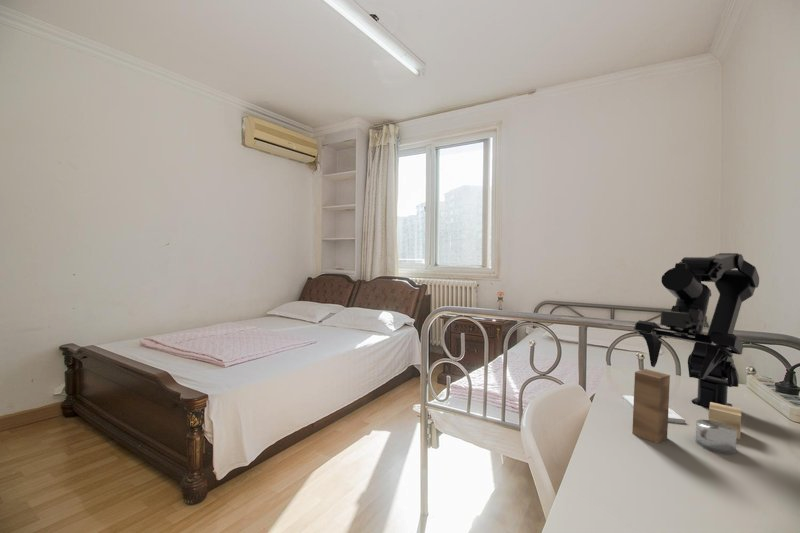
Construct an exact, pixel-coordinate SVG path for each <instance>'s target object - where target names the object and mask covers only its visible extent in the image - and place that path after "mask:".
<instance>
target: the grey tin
mask: <svg viewBox="0 0 800 533" xmlns="http://www.w3.org/2000/svg"><path fill="white" fill-rule="evenodd" d="M694 438H695V443H696V444H697V445H698V446H700V447H701V448H703V449H705V450H708V451H710V452H713V453H716V454H721V455H728V456H731V455H735V454H736V453H737V444H738V443H737V441H738V439H737V431H736V430H735V429H734V428H732V427H730V426H728V425H725V424H723V423H719V422H715V421H711V420H709V419H697V420H696V421H695V437H694Z"/></svg>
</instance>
